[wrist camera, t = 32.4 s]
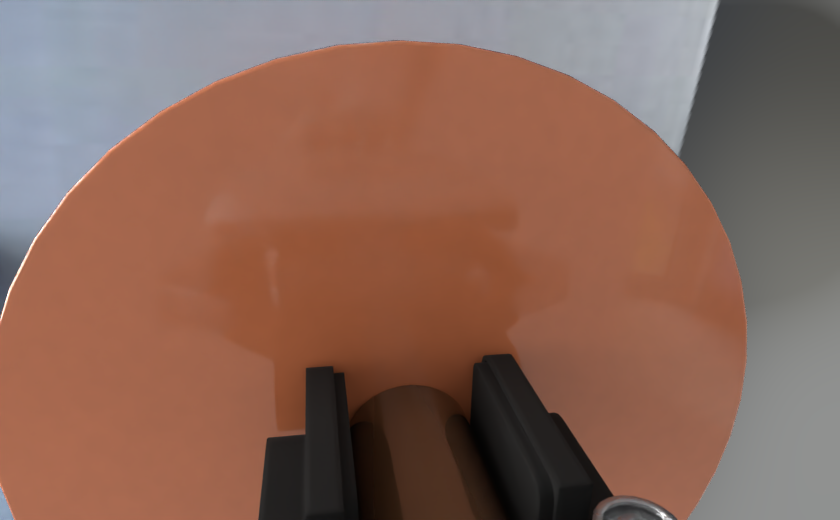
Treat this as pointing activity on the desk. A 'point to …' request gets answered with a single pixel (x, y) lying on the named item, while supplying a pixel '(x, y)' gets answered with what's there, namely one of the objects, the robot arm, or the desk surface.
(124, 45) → the desk surface
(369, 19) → the desk surface
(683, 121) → the desk surface
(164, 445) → the pot lid
